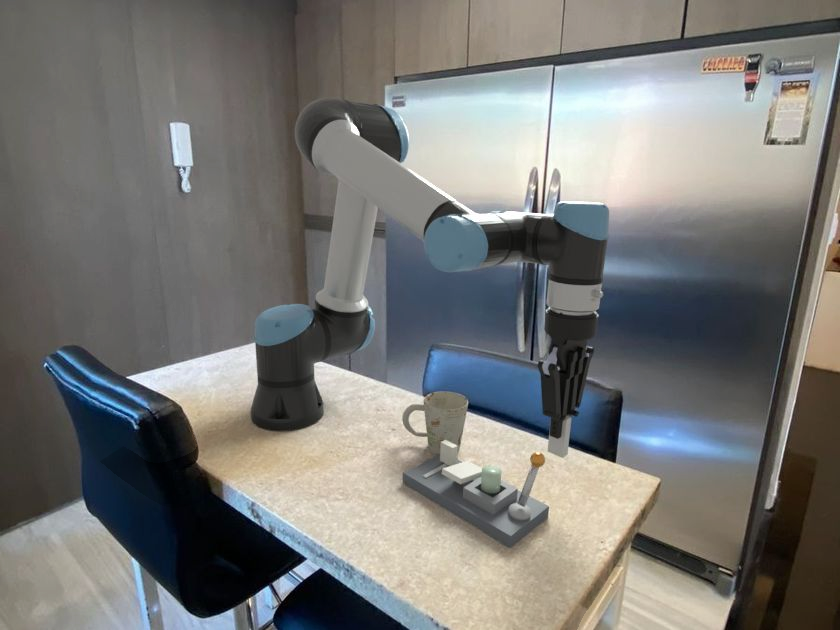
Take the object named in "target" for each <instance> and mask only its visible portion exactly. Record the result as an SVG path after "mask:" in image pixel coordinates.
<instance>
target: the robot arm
mask: <svg viewBox="0 0 840 630" xmlns="http://www.w3.org/2000/svg"><path fill="white" fill-rule="evenodd" d="M294 126H295V127H294V140H295V144H296V146H297V148H298V150H299V153H300V155H301V156H302V158H304V159H305V161H306V162H307V163H308V164H309V165H311V166H312V167H313V168H314V169H316V170H317V171H319V172H320V173H321V174H323V175H326V176H331V177H332V176H333V177H334V176H335V177H336V179H337V181H338V183H337V192H336V198H335V204H334V205H335V206H334V213H333V218H332V219H333V220H332V227H331V235H330V242H329V248H328V249H329V250H328V256H327V264H326V269H325V270H326V271H325V278H324V285H323V289H321V290H319V291H318V292H317V293H316V295H315V300H314V307H313V308H311V306H309V305H306V304H303V303H290V304H282V305H281V304H280V305H275V306H274V307H270V308H267V309H266V310H264V311H262V312H260V313H259V314H258V316H257V318H256V319H255V322H254V334H253V338H254V342H255V344H254V345H255V359H256V374H257V386H256V389H255V393H254V396H253V400H252V402H251V403H252V404H251V407H250V419H251V422H252V423H253V425H255V427H258V428H260V429H263V430H268V431H271V432H272V431H275V432H287V431H295V430H301V429H305V428H308V427H310V426H313V425H314V424H316V423H318V422H319V421H320V420H321V419H322V418H323V416H324V413H325V412H324V407H325V406H324V401H323V398H322V396H321V393H320V391H319V387H318V385H317V383H316V379H315V364H316V363H320V362H324V361H327V360H330V359H335V358H337V357H342V356H344V355H345V356H346V355H352V354H354V353H356V352H357V351H360V350H362V349H364V348H366V347H367V346H368V345H369V344H370V342H371V341H372V339H373V337H374V335H375V329H376V321H375V318H373V316H374V312H373V310H372V308H371V307H370V306H369V301H368V299H367V298H366V296H365V295H364V291H365V286H366V279H367V274H368V273H367V272H368V268H369V263H370V262H369V261H370V256H371V250H372V243H373V239H374V232H375V227H376V221H377V214H378V209H379V210H381V211H382V212H383V213H385V214H386V215H387V216H388V217H390V218H391V219H393V221H394V222H397V224H399V225H400V226H402V227H403V228H404V229H406V230H407V231H408V232H409V233H411V234H413V236H415V237H416V238H418V239H419V240H421V241H422V242H423V249H424V252H425V255H426V256H427V257H428V260H429V262H430V264H431V265H432V266H433V267H434V268H435V269H437V270H439V271H440V272H445V273H456V272H457V273H466V272H471V271H474V270H478V269H483V268H487V267H488V268H489V267H494V266H499V265H505V264H511V263H528V264H529V263H530V264H537V265H542V266H549V268H548V269H549V270H548V272H549V273H548V283H547V293H546V294H547V295H546V302H545V303H546V306H548V308H547V309H545V315H544V325H543V327H544V332H545V334H546V335H548V336H549V337H550V344H549V346H548V356H547V359H546V360H541V359H539V360H538V363H537V368H538V371H539V374H540V388H541V390H540V391H541V407H542V410H541V411H542V416H546V417H548V418H550V423H549V432H548V434H549V435H548V443H547V453H550V454H552V455H555V456H557V457H558V458H559V457H560V458H562V459H564V458H565V457H566V456H568V453H569V443H570V434H571V424H572V417H575V418H577V417H579V414H580V411H577V410H576V408H577V409H579V408H580V407H581V404H582V399H583V395H584V391H585V386H586V381H587V377H588V373H589V368H590V363H591V360H592V358H593V356H594V353H595V347H592V346H588V341H590V340H592V339H595V338H596V337H597V332H598V325H599V324H598V323H599V314H598V312H597V310H598V309H600V303H601V298H603V297H604V292H603V291H602V287H603V285H602V284H603V278H604V277H603V276H604V270H605V269H604V268H605V263H606V262H605V261H606V256H607V255H606V254H607V246H608V240H609V238H610V233H609V228H610V225H609V224H610V209H609V207H608V206H607V205H606V204H605V203H602V202H595V201H594V202H592V201H591V202H589V201H569V200H568V201H559V202H557V203H556V205H555V207H554V210H553V213H547V214H546V213H545V214H544V213H535V212H522V211H515V210H492V211H490V212H488V213H477V212H474V211H473V210H471V209H469V207H466V206H465V205H464V204H462V203H460V202H459V201H457V200H456V199H455V198H453V197H452V196H450V195H449V194H448V193H445V192H444V191H443V190H441V189H440V188H438V187H437V186H435V185H434V184H432V183H431V182H429V181H428V180H427V179H425V178H423V177H422V176H420V175H418V174H417V173H416V172H414V171H413V170H411V169H410V168H408V167H407V166H406V165H404V164H403V163H404V162H405V160H406V158H407V156H408V153H409V152H408V151H409V147H410V138H409V137H410V136H409V131H408V128H407V125H406V124H405V123H404V120H403V118H402V116H401V115H400V114H399V113H398V112H397V111H396V110H395V109H392V108H390V107H387V106H384V105H380V104H378V103H373V102H365V101H364V102H363V101H356V100H349V99H348V100H347V99H341V98H337V97H323V98H318V99H316V100H313V101H311V102H310V103H309V104H307V105H306V106H305V107H304V108H303V109H302V110H301V111H300V112H299V114H298V117H297V119H296V121H295V125H294Z"/></svg>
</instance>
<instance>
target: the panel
mask: <svg viewBox="0 0 840 630" xmlns="http://www.w3.org/2000/svg"><path fill="white" fill-rule="evenodd" d="M462 462H463V461H461V460H459V459H458V458H457V464H459V463H462ZM446 467H449V465H447V464H445V463H443V462H441V461H440V454H438V455H437V454H435V455H434V456H432V457H430V458H429V459H427V460H425V461H423V462H421V463H419V464H416V465H415V466H413V467H411V468H409V469H407V470H406V471H404V472H402V484H403V485H405V486H407V487H409V488H410V489H412V490H413V491H415V492H416V493H418V494H419V495H421V496H423V497H425V498H426V499H428V500H430V501H432V502H433V503H435V504H436V505H438V506H440V507H441V508H443V509H444V510H446V511H448V512H450V513H452V515H455V516H456V517H458V518H459V519H461V520H462V521H464V522H465V523H468V524H469V525H471V526H472V527H474V528H476V529H477V530H479V531H481V532H482V533H484V534H486V535H487V536H489V537H490V538H492V539H494V540H496V541H497V542H499V543H500V544H502V545H504V546H505V547H507V548H509V549H511V548H512V547H513V546H515V545H516V544H517V543H519V542H520V541H521V540H522V539H524V538H525V537H526V536H527V535H528V534H529V533H531V532H532V531H533V530H535V529H536V528H537V527H538V526H539V525H541V524H542V523H543V522H544V521H546V520H547V519H548V518H549V511H550V506H549V505H548V504H546V503H544V502H542V501H540V500H538V499H536V498H534V497H532V496H530V495H529V497H528V500H527V503H526V505H525V507H523V506H521V505H519V504H517V503H518V500H519V497H520V495H521V492H522V491H520V490H519V488H518V487H516V486H514V485H512V484H510V483H508V482H506V481H504V480H502V479H501V487H500V491H499V492H498V493H494V494H490V493H486V492H484V491H483V490H482V489H481V477H482V476H481V477H479V478H477V479H474V480H471V481H468V482H465V483H463V484H459V483H457V482H455V481H454V480H452V479H450V478H448V477H446V476H445V475H443V474H442V469H443V468H446Z"/></svg>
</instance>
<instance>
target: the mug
mask: <svg viewBox="0 0 840 630" xmlns="http://www.w3.org/2000/svg"><path fill="white" fill-rule="evenodd" d="M468 407H469V400H468V398H467V397H466V396H464V395H463V394H461V393H458V392H454V391H447V390H446V391H434V392H431V393H428V394H427V395H425V396H424V398H423V404H421V403H420V404H419V403H412V404H410V405H409V406H407V407H406V408H405V409H404V411H403V413H402V420H401V421H402V425H403V426H404V428H405V429H406V430H407V431H408V432H409V433H410V434H411V435H413V436H415V437H423V438H426V439H427V448H428V450H429V451H430V452H431V453H432V454H435V455H438V454H440V447H441V442H442V441H444V440H447V441H449V442H451V443H453V444H455V445H457V453H459V451H460V448H461V444H462V439H463V433H464V427H465V423H466V419H467V418H466V417H467V413H468V412H467V411H468ZM414 411H419V412H424V419H425V428H426V429H425V430H426V432H423V431H417V430H415V429H414V428H413V427H412V425H411V424H410V421H409V419H410V416H411V414H412V413H413V412H414Z"/></svg>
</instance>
